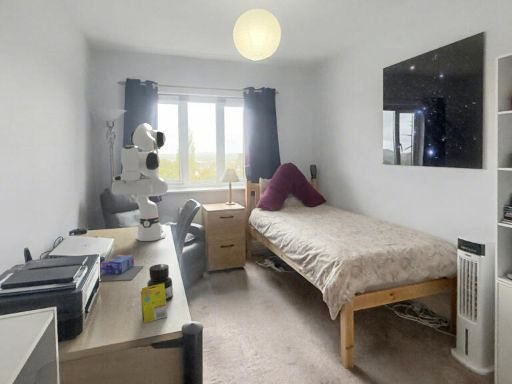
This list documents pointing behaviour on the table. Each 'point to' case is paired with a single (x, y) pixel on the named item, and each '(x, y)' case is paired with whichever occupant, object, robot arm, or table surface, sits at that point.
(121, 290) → the table surface
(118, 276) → the desk mat
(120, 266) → the ink cartridge box
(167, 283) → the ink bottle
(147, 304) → the crayon box
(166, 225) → the table surface
